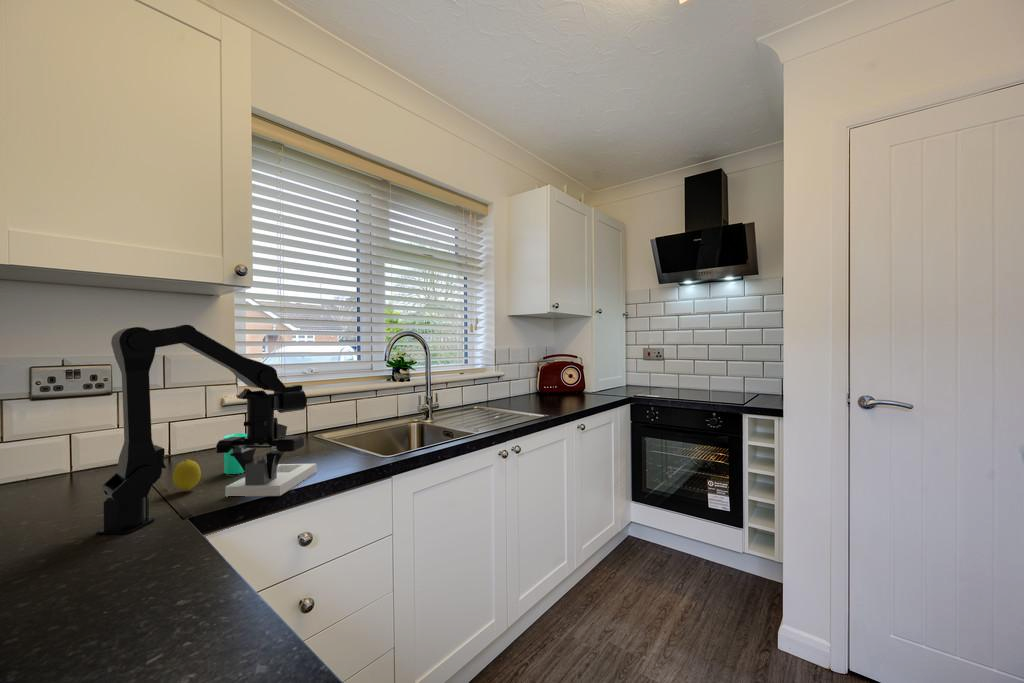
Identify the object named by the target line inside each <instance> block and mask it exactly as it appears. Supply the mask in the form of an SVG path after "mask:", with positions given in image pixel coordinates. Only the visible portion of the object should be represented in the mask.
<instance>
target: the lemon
mask: <svg viewBox="0 0 1024 683" xmlns="http://www.w3.org/2000/svg"><path fill="white" fill-rule="evenodd" d="M201 471H202V470H201V467H200V465H199V464H198V463H197V462H196V461H194V460H191V459H189V458H187V459H184V460H183V461H181V462H180V463H178V464H177V465H176V466H175V467H174V470H173V473H172V483H173V484H174V486H175V488H177V489H179V490H183V491H184V492H186V491H187V492H189V491H190V490H191V489H192V488H194V487H196V485H198V484H199V482H200V480H201V476H202V474H201Z"/></svg>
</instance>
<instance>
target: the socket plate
mask: <svg viewBox="0 0 1024 683" xmlns="http://www.w3.org/2000/svg"><path fill="white" fill-rule="evenodd" d="M317 467H318V466H317V463H288V464H287V463H279V464H278V466H277V478H276V479H274V480H272V481H270V482H269V483H267V484H265V485H245V476H244V477H241V478H240V479H238V480H236V481H235V482H232V483H230V484H228V485H226V486H225V487H224V488H225V489H224V490H225V492H224V494H225V496H226V497H225V498H229V497H228V496H245V497H281V496H282V495H284V494H285V493H287V492H288V491H290V490H291V489H293V488H294V487H296V486H298V485H299V484H301V483H302V482H304V481H305V480H307V479H308V478H310V477H312V476H313V475H314V474H316V473H317ZM303 480H304V481H303ZM300 482H301V483H300ZM297 484H298V485H297Z"/></svg>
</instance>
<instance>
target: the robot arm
mask: <svg viewBox="0 0 1024 683" xmlns="http://www.w3.org/2000/svg"><path fill="white" fill-rule="evenodd" d="M110 342H111V343H110V344H111V348H112V351H113V352H112V353H113V355H114V358H115V360H116V363H117V365H118V368H119V370H120V373H121V387H122V388H121V389H122V392H121V393H122V416H123V437H124V438H123V439H124V440H123V444H122V447H121V450H120V454H119V456H118V462H117V466H116V472H115V473H114V474H113V475H112V476H111V477H110V478H108V480H106V482H104V483H103V484H102V485H101V490H102V491H103V492H104V494H105V496H107V497H108V498H106V500H104V501H103V527H102V528H100V529H98V530H97V529H96V530H95V532H94V533H95V535H105V534H106V535H108V534H109V535H113V534H120V535H121V534H129V533H132V532H134V531H136V530H138V529H140V528H142V527H144V526H146V525H149V524H150V523H152V522H154V521H156V517H149V516H150V515H149V514H150V513H149V512H150V510H149V509H150V504H149V500H150V498H149V494H150V490H151V489H152V486H153V485H154V484H155V483H157V481H158V480H160V478H161V477H162V474H163V469H167V466H166V464H165V462H164V461H165V460H164V459H165V458H164V457H165V453H166V452H165V451H166V450H165V448H164V447H162V446H159V445H156V444H154V442H153V439H152V438H153V437H152V436H153V435H152V434H153V433H152V415H151V413H152V412H151V389H150V386H151V385H150V370H151V367H152V365H153V362H154V359H155V355H156V350H157V348H162V347H168V346H173V345H174V346H175V345H179V344H181V345H183V346H185V347H187V348H188V349H190V350H192V351H194V352H196V353H197V354H200V355H202V356H203V357H205V358H207V359H209V360H211V361H212V362H214V363H217V364H218V365H219V366H220V365H221V367H223V368H225V369H228V370H229V371H231V373H233V375H234V376H235V377H236V378H237V379H238V380H240V382H242V383H244V385H246V386H247V387H250V388H252V389H253V388H255V389H260V390H253V391H252V390H251V389H249V388H244V389H243V390H242V391H241V392H240V393H239V394H238V395H237V396H236V398H237V399H241V400H246V421H243V427H246V428H247V429H246V430H247V432H246V434H247V438H245V437H229V438H226V439H224V438H223V439H219V440H218V441H217V443H216V445H215V454H224V453H228V452H230V451H231V450H232V453H231V454H230V456H234V457H235V459H236V460H237V461H238V463H239V464H240V465H241V467H242V468H243V470H244V472H245V464H247V463H250V462H252V461H254V455H255V453H256V450H257V449H258V448H259V449H263V448H267V449H268V448H270V449H271V451H270V452H269V451H268V452H267V453H266V456H265V457H266V458H267V467H268V476H269V479H273V477H274V474H275V472H276V469H277V466H278V464H280V461H281V459H282V457H283V455H284V454H285V453H286V452H287V453H288V452H295V451H297V450H299V449H301V448H303V447H305V439H304V438H303V436H302V435H287V430H288V425H284V424H280V423H278V417H275V410H276V411H277V412H278V413H280V414H284V413H290V412H298V411H304V410H305V409H306V407H307V405H308V398H307V395H306V393H305V391H304V389H303V385H302V384H294V385H289V386H285V385H284V383H283V382H282V380H280V378H279V377H278V372H277V370H276V368H274V367H273V366H271V365H269V364H268V363H267V364H265V363H264V362H261V361H258V360H254V359H251V358H248V357H245V356H244V355H242V354H239V353H238V352H236V351H234V350H233V349H231V348H230V347H227V346H226V345H224V344H222V343H221V342H219V341H217V340H216V339H214V338H212V337H210V336H208V335H207V334H205V333H203V332H201V331H200V330H198V329H197V328H196V327H195V326H194V325H191V324H180V325H176V326H174V327H173V326H172V327H166V328H157V329H152V330H151V329H148V328H146V327H142V326H134V327H127V328H123V329H120V330H118V331H116V333H114V334H113V336H112V337H111V341H110ZM266 391H267V392H269V391H270V392H271V393H267V392H266Z"/></svg>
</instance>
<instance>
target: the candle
mask: <svg viewBox="0 0 1024 683" xmlns="http://www.w3.org/2000/svg"><path fill="white" fill-rule="evenodd" d="M237 432H238V431H237V430H235V433H233V434H227V435H224V437H223V439H226V438H229V437H245V438H247V433H243V432H238V433H237ZM231 453H232V450H231V451H230V452H228V453H223V454H224V455H223V464H224V466H223V467H224V468H223V469H224V470H223V472H224V473H226V474H236V473H242V474H244V473H243V472H244V470H243V468H242V467H241V465H240V464H239V463H238V461H237V460H236V459H235V457H234V456H230V454H231Z"/></svg>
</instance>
